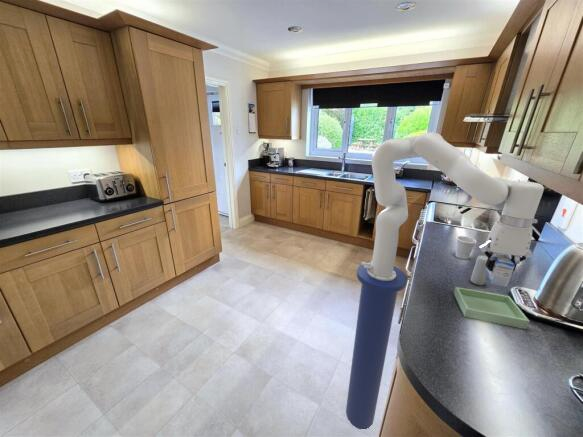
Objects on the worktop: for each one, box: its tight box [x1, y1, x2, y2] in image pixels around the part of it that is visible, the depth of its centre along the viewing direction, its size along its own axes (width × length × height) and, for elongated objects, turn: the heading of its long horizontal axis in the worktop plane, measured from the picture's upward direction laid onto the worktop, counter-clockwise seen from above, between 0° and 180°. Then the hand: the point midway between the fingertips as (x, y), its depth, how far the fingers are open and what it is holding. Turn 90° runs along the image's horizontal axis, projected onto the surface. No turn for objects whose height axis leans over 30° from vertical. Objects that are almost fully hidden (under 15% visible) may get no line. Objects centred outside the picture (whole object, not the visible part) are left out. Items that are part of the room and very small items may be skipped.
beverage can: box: [470, 255, 488, 286], centre depth 102 cm, size 5×5×12 cm
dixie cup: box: [455, 235, 477, 260], centre depth 125 cm, size 8×8×10 cm
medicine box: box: [486, 254, 515, 287], centre depth 83 cm, size 8×4×9 cm, turn 154°
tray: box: [453, 286, 530, 330], centre depth 88 cm, size 18×14×3 cm
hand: (498, 270), depth 83 cm, fingers closed on medicine box, 4 cm apart
